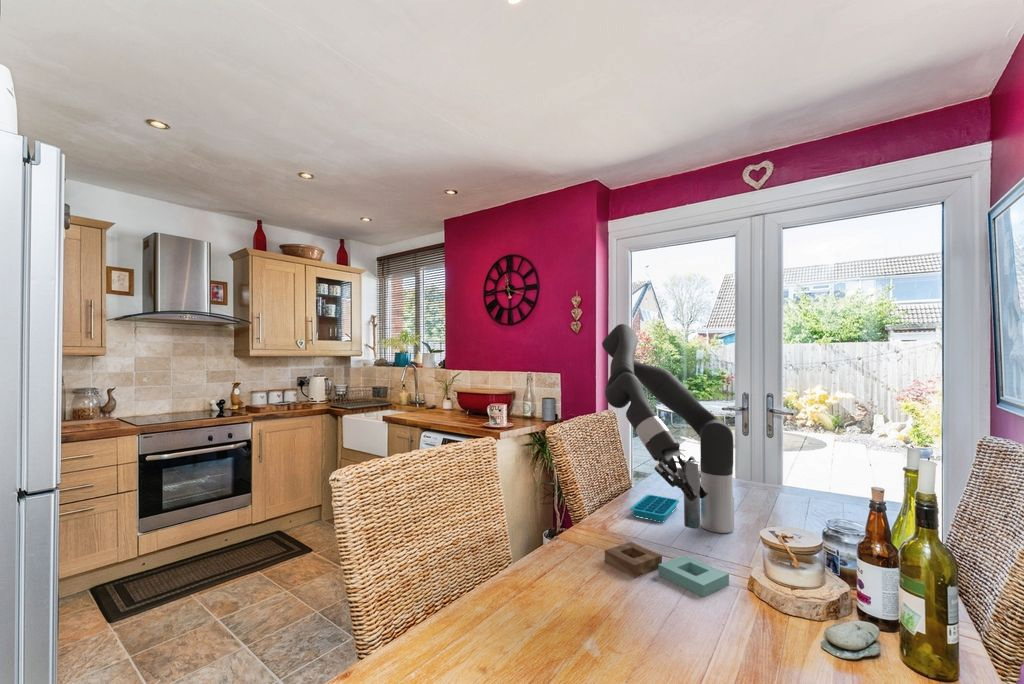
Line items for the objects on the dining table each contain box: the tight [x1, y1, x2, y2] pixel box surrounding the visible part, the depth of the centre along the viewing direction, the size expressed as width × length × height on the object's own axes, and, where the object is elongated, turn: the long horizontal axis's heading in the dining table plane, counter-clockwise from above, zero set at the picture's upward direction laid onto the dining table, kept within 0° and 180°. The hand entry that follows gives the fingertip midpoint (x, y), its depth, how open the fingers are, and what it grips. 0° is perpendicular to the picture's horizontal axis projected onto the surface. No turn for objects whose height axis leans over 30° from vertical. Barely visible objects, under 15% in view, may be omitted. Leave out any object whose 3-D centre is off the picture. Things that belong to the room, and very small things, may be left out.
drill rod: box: [683, 460, 701, 530], centre depth 107 cm, size 4×4×15 cm
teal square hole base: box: [657, 554, 730, 598], centre depth 106 cm, size 10×12×2 cm
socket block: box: [604, 541, 663, 579], centre depth 113 cm, size 10×10×3 cm
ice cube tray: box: [630, 494, 680, 523], centre depth 153 cm, size 12×20×3 cm, turn 146°
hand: (699, 497), depth 105 cm, fingers closed on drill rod, 3 cm apart
